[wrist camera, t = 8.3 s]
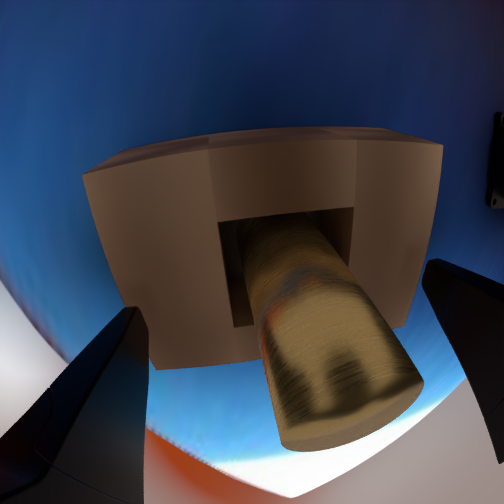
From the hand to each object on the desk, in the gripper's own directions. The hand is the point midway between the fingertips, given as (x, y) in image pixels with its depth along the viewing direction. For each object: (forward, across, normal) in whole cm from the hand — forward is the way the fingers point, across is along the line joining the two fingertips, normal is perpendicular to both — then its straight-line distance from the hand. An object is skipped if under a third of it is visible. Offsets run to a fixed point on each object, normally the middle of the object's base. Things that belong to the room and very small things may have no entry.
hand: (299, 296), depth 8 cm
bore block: (+5, 0, 0) cm, 5 cm away
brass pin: (+4, 0, 0) cm, 4 cm away
